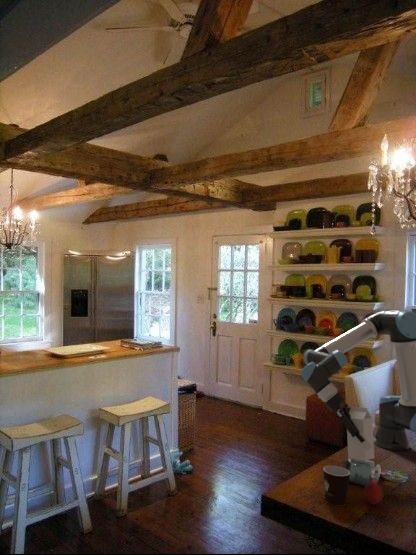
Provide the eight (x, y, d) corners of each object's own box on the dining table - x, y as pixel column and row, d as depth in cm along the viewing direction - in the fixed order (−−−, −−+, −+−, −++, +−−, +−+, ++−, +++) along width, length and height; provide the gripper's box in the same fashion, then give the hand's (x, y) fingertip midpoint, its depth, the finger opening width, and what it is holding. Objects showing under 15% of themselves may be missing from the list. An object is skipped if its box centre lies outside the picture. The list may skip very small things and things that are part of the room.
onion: (372, 509, 141) (373, 484, 142) (359, 501, 147) (360, 477, 147) (386, 507, 144) (387, 482, 144) (373, 499, 149) (373, 475, 149)
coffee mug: (350, 509, 141) (351, 477, 142) (322, 505, 143) (323, 473, 143) (346, 493, 152) (347, 464, 153) (320, 490, 154) (321, 461, 155)
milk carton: (365, 461, 165) (362, 408, 169) (348, 458, 170) (345, 407, 174) (374, 458, 170) (371, 407, 173) (357, 455, 175) (355, 405, 179)
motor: (349, 466, 178) (349, 447, 179) (380, 473, 173) (381, 453, 173) (339, 483, 161) (340, 462, 162) (374, 491, 156) (374, 469, 156)
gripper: (330, 397, 188) (368, 443, 180) (317, 408, 169) (359, 459, 161) (343, 387, 186) (382, 432, 178) (332, 396, 167) (375, 447, 159)
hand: (371, 445), depth 169 cm, fingers closed on milk carton, 9 cm apart
